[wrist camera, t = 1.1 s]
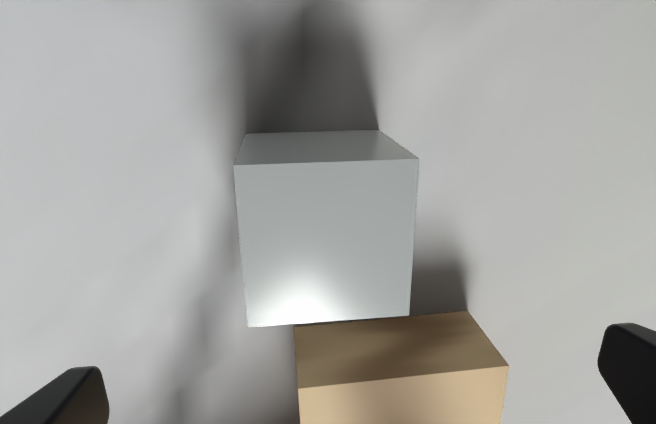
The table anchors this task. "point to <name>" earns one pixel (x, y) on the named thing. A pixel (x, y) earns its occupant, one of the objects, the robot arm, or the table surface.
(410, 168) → the stone cube
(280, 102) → the table surface
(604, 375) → the robot arm
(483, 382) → the oak block
